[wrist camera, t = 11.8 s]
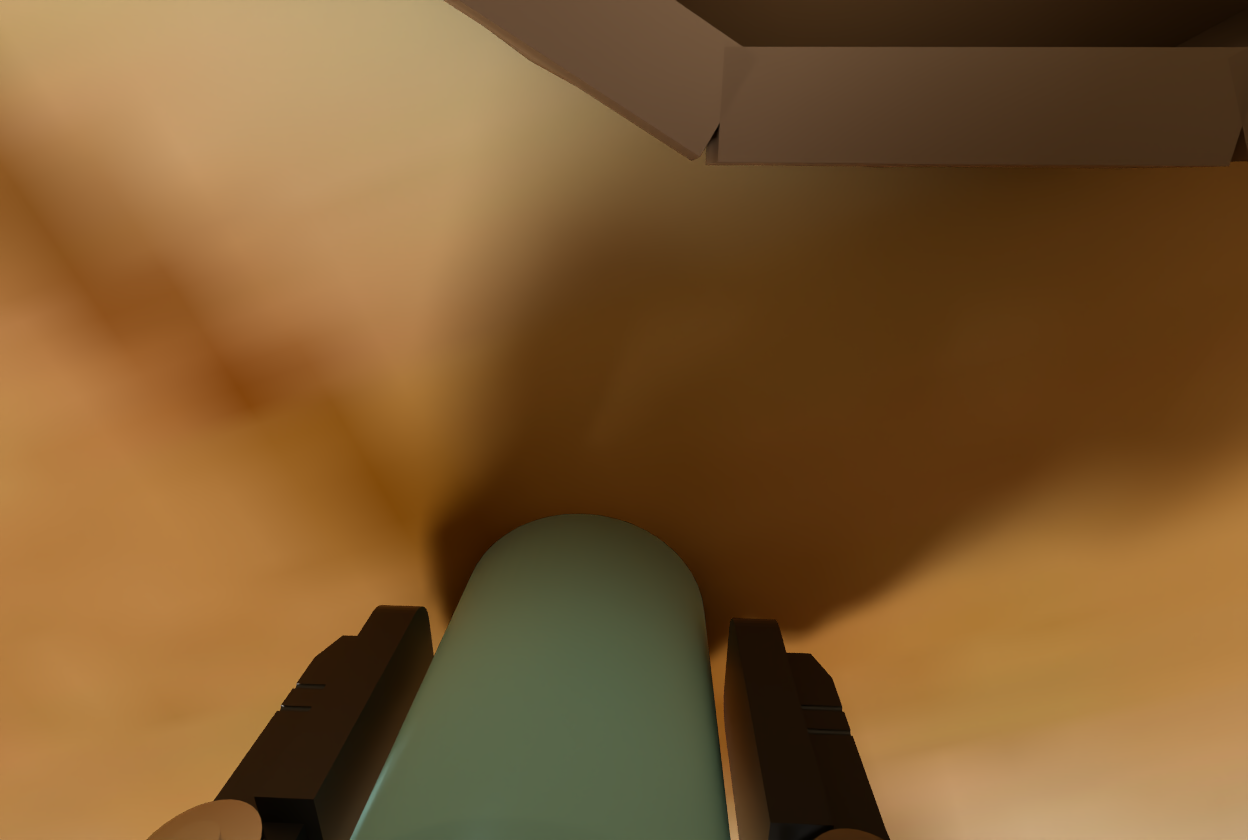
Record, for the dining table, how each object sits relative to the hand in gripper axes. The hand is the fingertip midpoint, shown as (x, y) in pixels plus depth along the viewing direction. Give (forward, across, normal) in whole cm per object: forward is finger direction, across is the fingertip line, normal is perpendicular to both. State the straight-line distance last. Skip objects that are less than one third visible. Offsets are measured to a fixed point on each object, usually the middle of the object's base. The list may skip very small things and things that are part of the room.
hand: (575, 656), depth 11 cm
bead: (+1, 0, 0) cm, 1 cm away
